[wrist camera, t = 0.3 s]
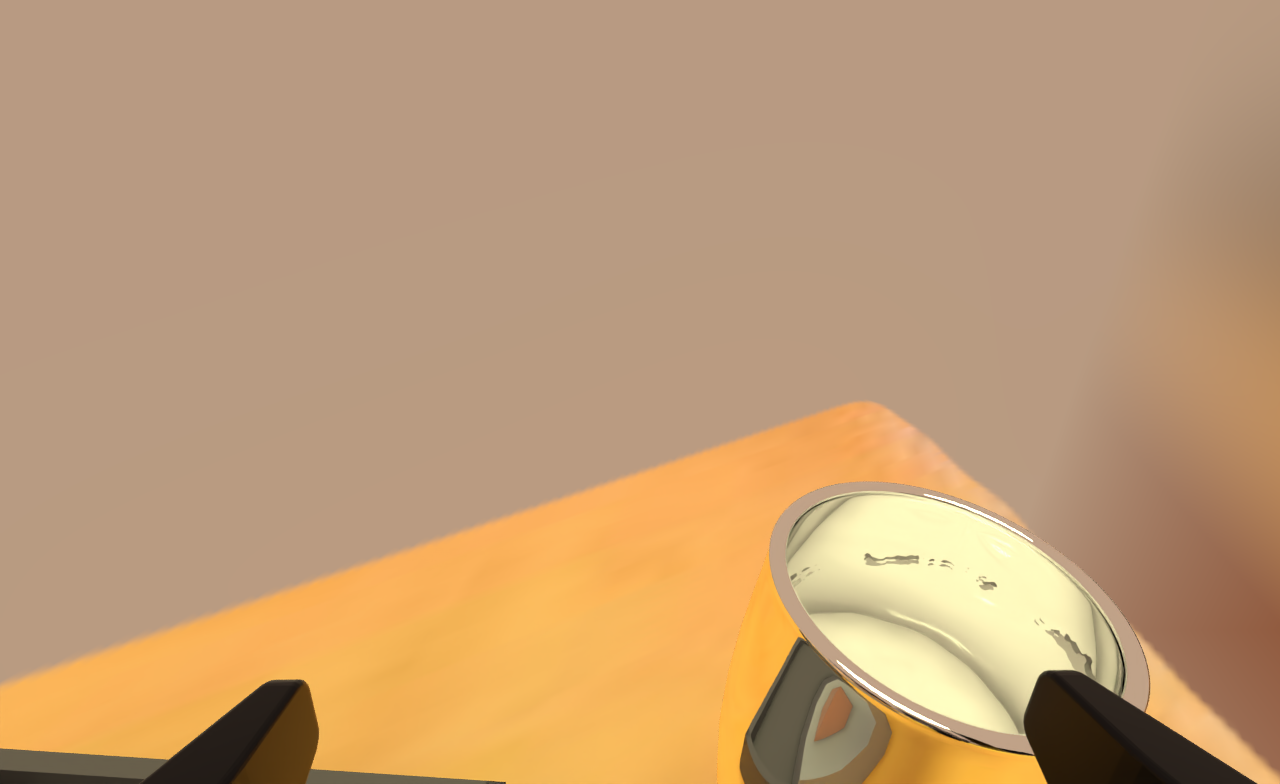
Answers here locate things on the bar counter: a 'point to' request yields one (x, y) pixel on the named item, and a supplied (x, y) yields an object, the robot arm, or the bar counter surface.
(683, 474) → the bar counter surface
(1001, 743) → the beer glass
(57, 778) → the tray
